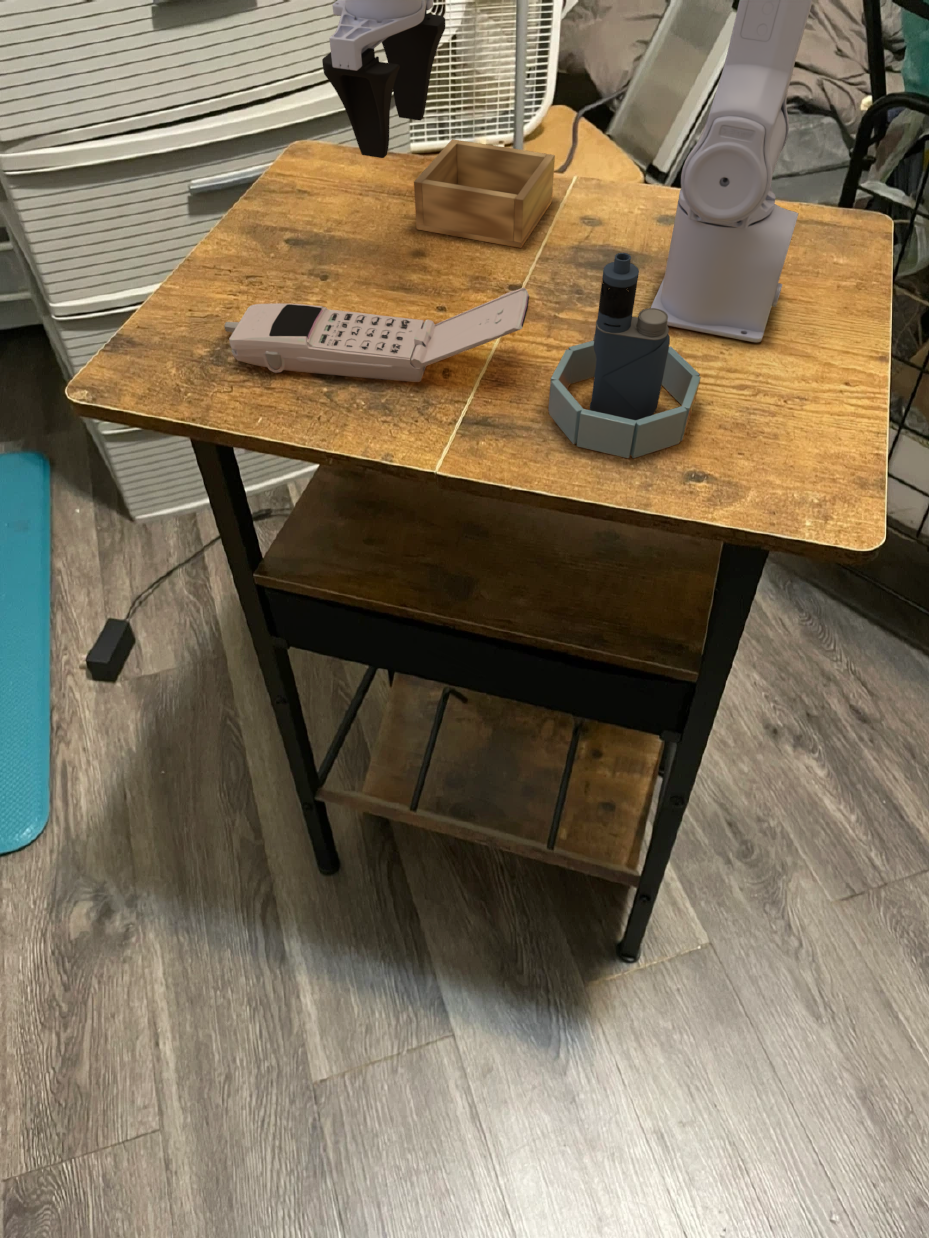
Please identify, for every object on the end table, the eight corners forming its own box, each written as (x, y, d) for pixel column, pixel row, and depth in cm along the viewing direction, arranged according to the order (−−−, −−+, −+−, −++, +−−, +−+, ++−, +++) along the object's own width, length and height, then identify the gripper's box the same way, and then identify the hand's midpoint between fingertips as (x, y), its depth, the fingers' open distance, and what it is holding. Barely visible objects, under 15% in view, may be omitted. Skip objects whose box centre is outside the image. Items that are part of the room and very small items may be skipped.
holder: (552, 202, 86) (555, 154, 82) (521, 248, 80) (523, 199, 77) (453, 185, 88) (451, 139, 85) (416, 229, 83) (413, 181, 79)
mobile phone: (522, 329, 62) (189, 300, 64) (518, 399, 66) (207, 369, 69) (532, 286, 65) (216, 260, 68) (528, 354, 70) (232, 327, 73)
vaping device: (589, 394, 66) (607, 244, 57) (657, 406, 65) (687, 255, 56) (582, 415, 65) (599, 264, 55) (652, 427, 64) (682, 275, 54)
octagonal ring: (701, 386, 67) (709, 352, 64) (672, 469, 61) (680, 435, 59) (574, 359, 69) (577, 326, 67) (534, 437, 63) (537, 403, 61)
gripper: (370, -96, 67) (385, 96, 77) (280, -43, 58) (310, 165, 69) (455, -89, 65) (458, 107, 76) (374, -33, 57) (391, 179, 67)
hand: (393, 136), depth 72 cm, fingers open, 7 cm apart
